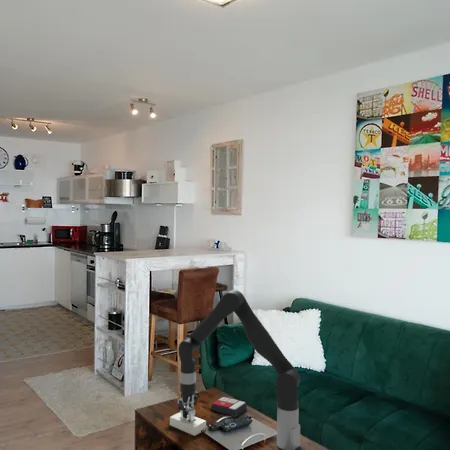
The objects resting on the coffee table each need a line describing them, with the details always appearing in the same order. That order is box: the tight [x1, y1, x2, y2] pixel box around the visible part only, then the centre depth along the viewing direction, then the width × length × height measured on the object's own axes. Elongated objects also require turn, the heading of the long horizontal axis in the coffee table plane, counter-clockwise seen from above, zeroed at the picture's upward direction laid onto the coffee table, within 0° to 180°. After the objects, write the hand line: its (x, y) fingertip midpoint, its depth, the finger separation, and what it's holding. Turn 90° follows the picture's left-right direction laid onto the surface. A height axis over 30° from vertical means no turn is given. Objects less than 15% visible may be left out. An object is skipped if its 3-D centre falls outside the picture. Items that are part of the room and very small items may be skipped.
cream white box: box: [169, 411, 207, 436], centre depth 217 cm, size 16×8×4 cm, turn 51°
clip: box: [179, 406, 196, 423], centre depth 217 cm, size 7×3×7 cm, turn 51°
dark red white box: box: [210, 396, 248, 417], centre depth 236 cm, size 11×4×15 cm
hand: (187, 416), depth 217 cm, fingers closed on clip, 3 cm apart
